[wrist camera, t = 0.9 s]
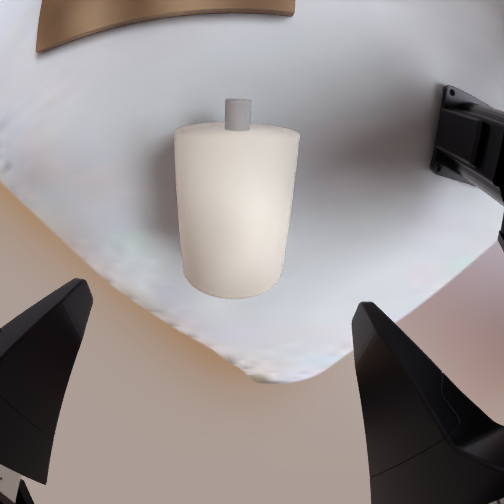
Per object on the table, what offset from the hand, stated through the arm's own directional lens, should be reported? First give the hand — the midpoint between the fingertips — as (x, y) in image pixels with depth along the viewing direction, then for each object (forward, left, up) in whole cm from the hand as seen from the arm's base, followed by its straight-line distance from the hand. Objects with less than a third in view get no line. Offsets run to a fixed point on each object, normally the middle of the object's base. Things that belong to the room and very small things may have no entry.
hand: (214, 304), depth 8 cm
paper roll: (0, 0, -8) cm, 8 cm away
